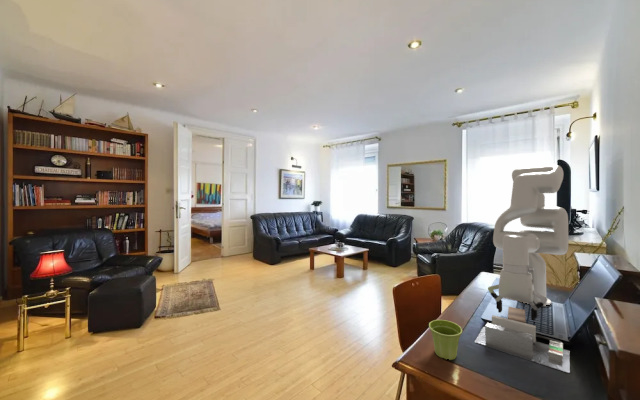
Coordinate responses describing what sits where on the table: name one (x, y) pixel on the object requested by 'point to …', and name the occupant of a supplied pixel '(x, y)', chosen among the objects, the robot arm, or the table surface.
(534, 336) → the gauge pad
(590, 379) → the table surface
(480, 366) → the table surface
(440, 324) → the plant pot
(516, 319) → the walnut bar
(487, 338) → the frame
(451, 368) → the table surface
